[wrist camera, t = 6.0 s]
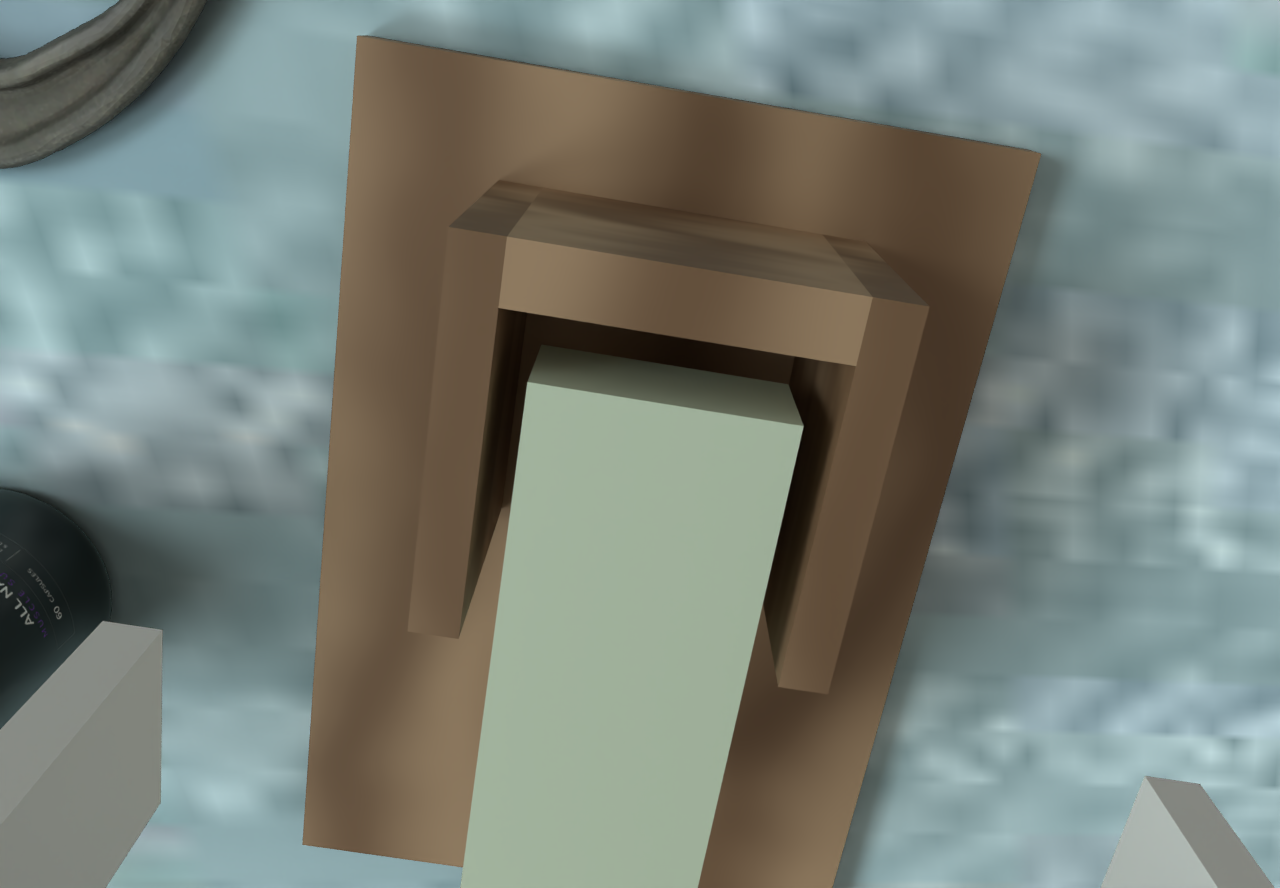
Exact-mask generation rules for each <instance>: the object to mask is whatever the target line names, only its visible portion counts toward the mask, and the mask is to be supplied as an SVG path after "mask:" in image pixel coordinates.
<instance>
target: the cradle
mask: <svg viewBox="0 0 1280 888" xmlns="http://www.w3.org/2000/svg"><path fill="white" fill-rule="evenodd" d="M1040 157H1041V153H1037V152H1034V151H1031V150H1027V149H1021V148H1015V147H1010V146H1004V145H998V144H992V143H986V142H981V141H975V140H969V139H963V138H957V137H952V136H946V135H940V134H934V133H929V132H923V131H917V130H911V129H905V128H900V127H894V126H888V125H882V124H876V123H871V122H865V121H859V120H853V119H847V118H842V117H836V116H830V115H824V114H818V113H813V112H807V111H801V110H795V109H789V108H784V107H778V106H772V105H766V104H761V103H755V102H749V101H743V100H737V99H732V98H726V97H720V96H714V95H708V94H703V93H697V92H691V91H685V90H679V89H674V88H668V87H662V86H656V85H650V84H645V83H639V82H633V81H627V80H621V79H616V78H610V77H604V76H598V75H592V74H587V73H581V72H575V71H569V70H564V69H558V68H552V67H546V66H540V65H535V64H529V63H523V62H517V61H511V60H506V59H500V58H494V57H488V56H482V55H477V54H471V53H465V52H459V51H453V50H448V49H442V48H436V47H430V46H424V45H419V44H413V43H407V42H401V41H396V40H390V39H384V38H378V37H372V36H357V45H356V60H355V75H354V90H353V105H352V119H351V134H350V149H349V164H348V179H347V193H346V208H345V223H344V238H343V253H342V267H341V282H340V297H339V312H338V327H337V341H336V356H335V371H334V386H333V401H332V416H331V430H330V445H329V460H328V475H327V490H326V504H325V519H324V534H323V549H322V564H321V578H320V593H319V608H318V623H317V638H316V653H315V667H314V682H313V697H312V712H311V727H310V741H309V756H308V771H307V786H306V801H305V815H304V830H303V845H308V846H315V847H323V848H330V849H337V850H344V851H351V852H358V853H365V854H372V855H379V856H386V857H393V858H400V859H408V860H415V861H422V862H429V863H436V864H443V865H450V866H457V867H463V864H464V856H465V849H466V841H467V834H468V826H469V819H470V811H471V803H472V796H473V788H474V781H475V773H476V766H477V758H478V751H479V743H480V736H481V728H482V721H483V713H484V706H485V698H486V691H487V683H488V675H489V668H490V660H491V653H492V645H493V638H494V630H495V623H496V615H497V608H498V600H499V593H500V585H501V578H502V570H503V563H504V555H505V547H506V540H507V532H508V525H509V517H510V510H511V502H512V495H513V487H514V480H515V472H516V465H517V457H518V450H519V442H520V435H521V427H522V419H523V412H524V404H525V397H526V389H527V382H528V379H529V377H530V374H531V371H532V369H533V366H534V363H535V361H536V358H537V355H538V353H539V350H540V347H541V345H548V346H554V347H560V348H567V349H573V350H579V351H585V352H591V353H598V354H604V355H610V356H616V357H622V358H628V359H635V360H641V361H647V362H653V363H659V364H666V365H672V366H678V367H684V368H690V369H697V370H703V371H709V372H715V373H721V374H727V375H734V376H740V377H746V378H752V379H758V380H765V381H771V382H777V383H783V384H788V385H789V388H790V390H791V393H792V396H793V399H794V401H795V404H796V407H797V409H798V412H799V415H800V418H801V420H802V423H803V426H804V427H803V431H802V436H801V440H800V444H799V449H798V453H797V457H796V462H795V466H794V470H793V475H792V479H791V484H790V488H789V492H788V497H787V501H786V505H785V510H784V514H783V518H782V523H781V527H780V531H779V536H778V540H777V545H776V549H775V553H774V558H773V562H772V566H771V571H770V575H769V579H768V584H767V588H766V592H765V597H764V601H763V606H762V610H761V614H760V619H759V623H758V627H757V632H756V636H755V640H754V645H753V649H752V653H751V658H750V662H749V666H748V671H747V675H746V680H745V684H744V688H743V693H742V697H741V701H740V706H739V710H738V714H737V719H736V723H735V727H734V732H733V736H732V741H731V745H730V749H729V754H728V758H727V762H726V767H725V771H724V775H723V780H722V784H721V788H720V793H719V797H718V802H717V806H716V810H715V815H714V819H713V823H712V828H711V832H710V836H709V841H708V845H707V849H706V854H705V858H704V863H703V867H702V871H701V876H700V880H699V884H698V888H832V887H833V884H834V880H835V877H836V873H837V870H838V866H839V863H840V859H841V855H842V852H843V848H844V845H845V841H846V838H847V834H848V831H849V827H850V824H851V820H852V817H853V813H854V810H855V806H856V803H857V799H858V796H859V792H860V789H861V785H862V782H863V778H864V775H865V771H866V768H867V764H868V761H869V757H870V754H871V750H872V747H873V743H874V740H875V736H876V733H877V729H878V726H879V722H880V719H881V715H882V712H883V708H884V704H885V701H886V697H887V694H888V690H889V687H890V683H891V680H892V676H893V673H894V669H895V666H896V662H897V659H898V655H899V652H900V648H901V645H902V641H903V638H904V634H905V631H906V627H907V624H908V620H909V617H910V613H911V610H912V606H913V603H914V599H915V596H916V592H917V589H918V585H919V582H920V578H921V575H922V571H923V568H924V564H925V560H926V557H927V553H928V550H929V546H930V543H931V539H932V536H933V532H934V529H935V525H936V522H937V518H938V515H939V511H940V508H941V504H942V501H943V497H944V494H945V490H946V487H947V483H948V480H949V476H950V473H951V469H952V466H953V462H954V459H955V455H956V452H957V448H958V445H959V441H960V438H961V434H962V431H963V427H964V424H965V420H966V417H967V413H968V409H969V406H970V402H971V399H972V395H973V392H974V388H975V385H976V381H977V378H978V374H979V371H980V367H981V364H982V360H983V357H984V353H985V350H986V346H987V343H988V339H989V336H990V332H991V329H992V325H993V322H994V318H995V315H996V311H997V308H998V304H999V301H1000V297H1001V294H1002V290H1003V287H1004V283H1005V280H1006V276H1007V273H1008V269H1009V265H1010V262H1011V258H1012V255H1013V251H1014V248H1015V244H1016V241H1017V237H1018V234H1019V230H1020V227H1021V223H1022V220H1023V216H1024V213H1025V209H1026V206H1027V202H1028V199H1029V195H1030V192H1031V188H1032V185H1033V181H1034V178H1035V174H1036V171H1037V167H1038V164H1039V160H1040Z"/></svg>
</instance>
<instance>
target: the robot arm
mask: <svg viewBox="0 0 1280 888" xmlns="http://www.w3.org/2000/svg"><path fill="white" fill-rule="evenodd" d="M162 636H163V630H160V629H153V628H147V627H140V626H133V625H126V624H120V623H113V622H106V621H102V622H101V623H100V624H99V626H98V627H97V628H96V629H95V630H94V631H93V632H92V633H91V634H90V635H89V636H88V637H87V638H86V639H85V640H84V641H83V642H82V644H81V645H80V646H79V647H78V648H77V649H76V650H75V651H74V652H73V653H72V654H71V655H70V656H69V657H68V658H67V659H66V661H65V662H64V663H63V664H62V665H61V666H60V667H59V668H58V669H57V670H56V671H55V672H54V673H53V674H52V675H51V676H50V677H49V679H48V680H47V681H46V682H45V683H44V684H43V685H42V686H41V687H40V688H39V689H38V690H37V691H36V692H35V693H34V694H33V695H32V697H31V698H30V699H29V700H28V701H27V702H26V703H25V704H24V705H23V706H22V707H21V708H20V709H19V710H18V711H17V712H16V714H15V715H14V716H13V717H12V718H11V719H10V720H9V721H8V722H7V723H6V724H5V725H4V726H3V727H2V728H1V729H0V888H106V887H107V885H108V883H109V882H110V880H111V879H112V877H113V876H114V874H115V873H116V871H117V870H118V868H119V866H120V865H121V863H122V862H123V860H124V859H125V857H126V856H127V854H128V853H129V851H130V849H131V848H132V846H133V845H134V843H135V842H136V840H137V839H138V837H139V836H140V834H141V832H142V831H143V829H144V828H145V826H146V825H147V823H148V822H149V820H150V818H151V817H152V815H153V814H154V812H155V811H156V809H157V808H158V806H159V805H160V803H161V731H162ZM1101 888H1274V886H1273V885H1272V884H1271V882H1270V881H1269V879H1268V878H1267V877H1266V875H1265V874H1264V873H1263V871H1262V870H1261V868H1260V867H1259V866H1258V864H1257V863H1256V861H1255V860H1254V859H1253V857H1252V856H1251V854H1250V853H1249V852H1248V850H1247V849H1246V848H1245V846H1244V845H1243V843H1242V842H1241V841H1240V839H1239V838H1238V836H1237V835H1236V834H1235V832H1234V831H1233V829H1232V828H1231V827H1230V825H1229V824H1228V822H1227V821H1226V820H1225V818H1224V817H1223V816H1222V814H1221V813H1220V811H1219V810H1218V809H1217V807H1216V806H1215V804H1214V803H1213V802H1212V800H1211V799H1210V797H1209V796H1208V795H1207V793H1206V792H1205V790H1204V789H1203V788H1202V786H1201V785H1200V784H1196V783H1189V782H1183V781H1176V780H1169V779H1162V778H1156V777H1149V776H1145V777H1144V779H1143V782H1142V784H1141V787H1140V789H1139V792H1138V794H1137V797H1136V799H1135V802H1134V804H1133V807H1132V809H1131V812H1130V815H1129V817H1128V820H1127V822H1126V825H1125V827H1124V830H1123V832H1122V835H1121V837H1120V840H1119V842H1118V845H1117V848H1116V850H1115V853H1114V855H1113V858H1112V860H1111V863H1110V865H1109V868H1108V870H1107V873H1106V875H1105V878H1104V881H1103V883H1102V886H1101Z"/></svg>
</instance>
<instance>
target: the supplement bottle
mask: <svg viewBox="0 0 1280 888" xmlns="http://www.w3.org/2000/svg"><path fill="white" fill-rule="evenodd" d="M111 608H112V594H111V587H110V581H109V577H108V573H107V571H106V568H105V565H104V563H103V561H102V559H101V557H100V555H99V553H98V552H97V550H96V548H95V547H94V545H93V544H92V542H91V541H90V540H89V538H88V537H87V536H86V535H85V533H84V532H83V531H82V530H81V529H80V528H79V527H78V526H77V525H76V524H75V523H74V522H73V521H71V520H70V519H69V518H68V517H67V516H65V515H64V514H62V513H61V512H60V511H58V510H57V509H55V508H53V507H52V506H50V505H48V504H47V503H45V502H43V501H41V500H39V499H36V498H34V497H31V496H29V495H26V494H23V493H19V492H16V491H11V490H6V489H0V729H1V728H2V727H3V726H4V725H5V724H6V723H7V722H8V721H9V720H10V719H11V718H12V717H13V716H14V715H15V714H16V712H17V711H18V710H19V709H20V708H21V707H22V706H23V705H24V704H25V703H26V702H27V701H28V700H29V699H30V698H31V697H32V695H33V694H34V693H35V692H36V691H37V690H38V689H39V688H40V687H41V686H42V685H43V684H44V683H45V682H46V681H47V680H48V679H49V677H50V676H51V675H52V674H53V673H54V672H55V671H56V670H57V669H58V668H59V667H60V666H61V665H62V664H63V663H64V662H65V661H66V659H67V658H68V657H69V656H70V655H71V654H72V653H73V652H74V651H75V650H76V649H77V648H78V647H79V646H80V645H81V644H82V642H83V641H84V640H85V639H86V638H87V637H88V636H89V635H90V634H91V633H92V632H93V631H94V630H95V629H96V628H97V627H98V626H99V624H100V623H101V622H102V621H106V622H109V621H110V616H111Z"/></svg>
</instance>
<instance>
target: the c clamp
mask: <svg viewBox="0 0 1280 888" xmlns="http://www.w3.org/2000/svg"><path fill="white" fill-rule="evenodd" d="M206 2H207V0H119V1H118V2H117V3H116V4H115V5H114V6H112V7H110V8H109V9H107V10H106V11H105V12H104V13H102V14H100V15H99V16H97V17H95V18H94V19H92V20H90V21H88V22H86V23H84V24H82V25H80V26H79V27H77V28H76V29H73V30H71V31H69V32H68V33H66V34H64V35H62V36H60V37H58V38H56V39H55V40H53V41H51V42H49V43H47V44H45V45H44V46H42V47H40V48H38V49H36V50H34V51H32V52H30V53H28V54H27V55H23V56H19V57H15V58H7V59H0V169H5V168H13V167H18V166H22V165H26V164H29V163H32V162H35V161H38V160H40V159H43V158H45V157H47V156H49V155H51V154H53V153H54V152H56V151H59V150H62V149H64V148H66V147H67V146H69V145H71V144H73V143H75V142H77V141H79V140H81V139H82V138H84V137H86V136H87V135H89V134H91V133H92V132H94V131H95V130H97V129H98V128H100V127H101V126H103V125H104V124H106V123H107V122H109V121H110V120H112V119H113V118H114V117H115V116H116V115H118V114H119V113H120V112H121V111H122V110H123V109H125V108H126V107H127V106H128V105H129V104H131V103H132V102H133V101H134V100H135V99H136V98H137V97H138V96H139V95H141V94H142V93H143V92H144V91H145V90H146V89H147V88H148V86H149V85H150V84H151V83H152V82H153V81H154V80H155V79H156V78H157V77H158V75H159V74H160V73H161V72H162V71H163V69H164V68H165V67H166V66H167V65H168V63H169V62H170V61H171V59H172V58H173V57H174V55H175V54H176V53H177V51H178V50H179V48H180V47H181V46H182V44H183V43H184V41H185V39H186V38H187V36H188V34H189V33H190V31H191V29H192V28H193V26H194V24H195V23H196V21H197V19H198V17H199V16H200V14H201V12H202V10H203V8H204V6H205V4H206Z"/></svg>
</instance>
